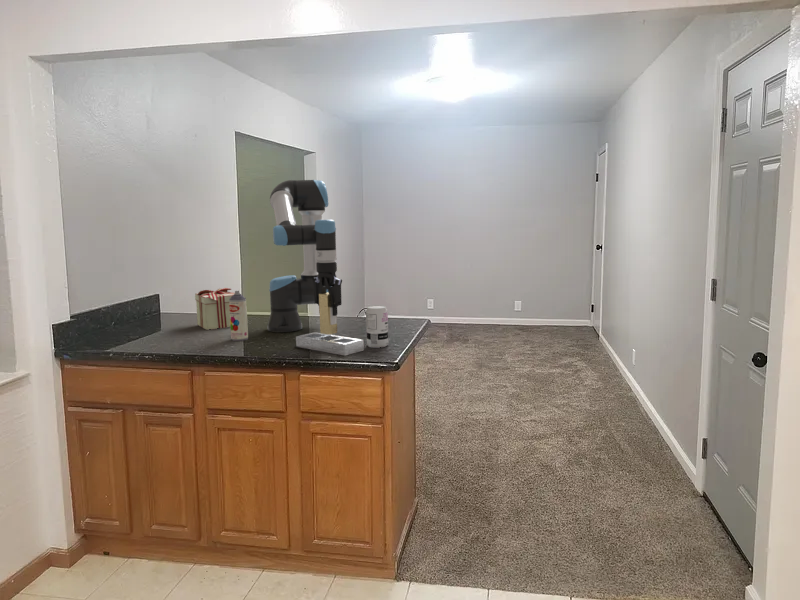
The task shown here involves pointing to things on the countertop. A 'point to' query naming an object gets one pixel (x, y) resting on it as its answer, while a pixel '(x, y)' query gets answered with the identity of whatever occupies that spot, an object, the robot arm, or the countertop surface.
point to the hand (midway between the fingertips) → (328, 323)
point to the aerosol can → (238, 317)
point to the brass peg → (326, 315)
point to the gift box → (213, 308)
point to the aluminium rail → (330, 343)
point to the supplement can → (377, 326)
